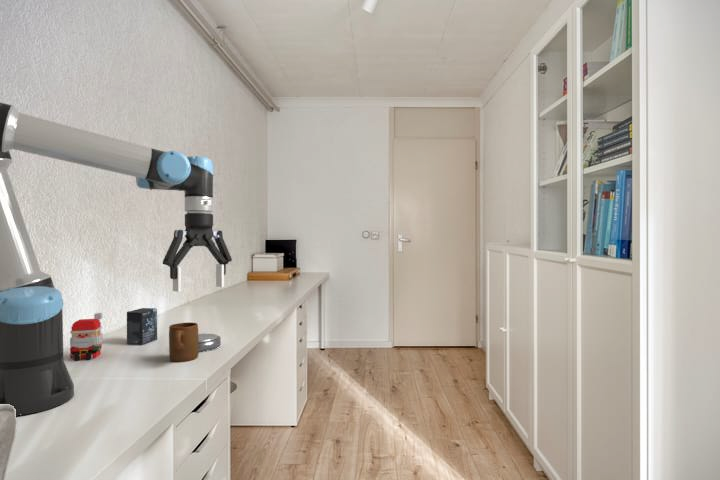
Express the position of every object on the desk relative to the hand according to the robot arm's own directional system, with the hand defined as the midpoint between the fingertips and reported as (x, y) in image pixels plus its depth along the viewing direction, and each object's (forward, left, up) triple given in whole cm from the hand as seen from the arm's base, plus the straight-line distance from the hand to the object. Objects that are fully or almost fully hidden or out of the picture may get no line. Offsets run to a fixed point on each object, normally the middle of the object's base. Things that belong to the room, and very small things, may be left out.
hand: (199, 288), depth 123 cm
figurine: (-26, +21, -20) cm, 39 cm away
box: (-10, +31, -20) cm, 38 cm away
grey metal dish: (+3, +12, -19) cm, 23 cm away
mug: (-5, 0, -20) cm, 20 cm away
